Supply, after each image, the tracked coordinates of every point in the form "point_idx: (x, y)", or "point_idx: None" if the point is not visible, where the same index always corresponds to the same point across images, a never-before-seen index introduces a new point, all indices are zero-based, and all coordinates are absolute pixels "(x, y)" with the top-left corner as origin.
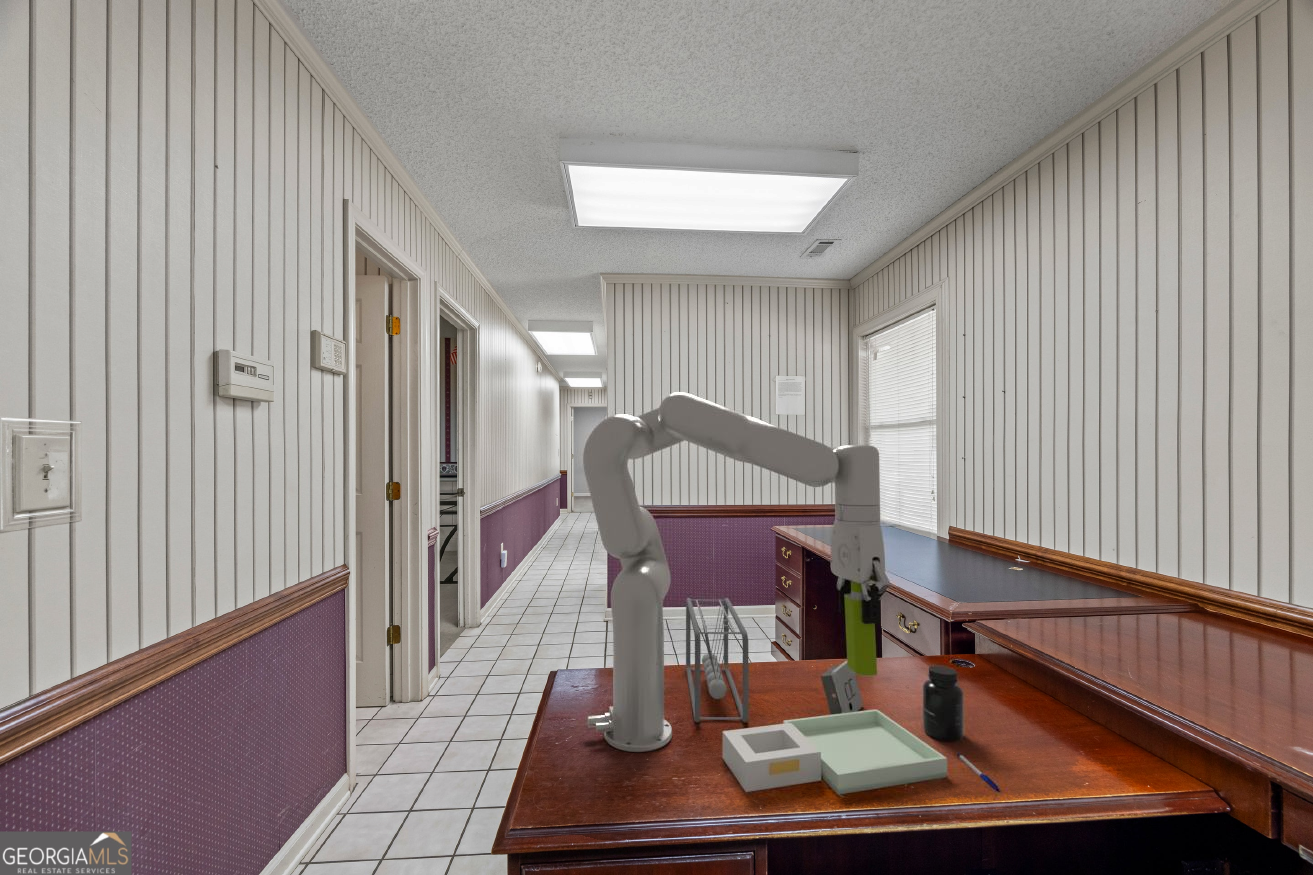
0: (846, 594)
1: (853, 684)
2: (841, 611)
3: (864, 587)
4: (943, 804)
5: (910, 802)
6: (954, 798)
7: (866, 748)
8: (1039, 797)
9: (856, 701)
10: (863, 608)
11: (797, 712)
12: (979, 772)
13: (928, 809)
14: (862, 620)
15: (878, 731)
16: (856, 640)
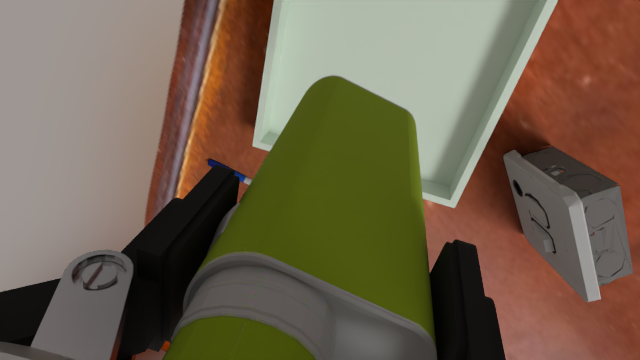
0: (432, 356)
1: (541, 241)
2: (453, 244)
3: (65, 343)
4: (210, 52)
5: (232, 2)
6: (216, 84)
7: (388, 78)
8: (181, 190)
9: (525, 219)
10: (176, 212)
11: (632, 86)
12: (247, 181)
13: (207, 14)
14: (225, 172)
15: (421, 159)
16: (305, 123)
